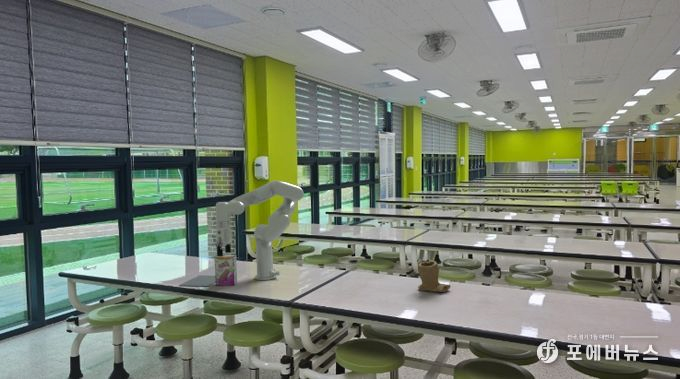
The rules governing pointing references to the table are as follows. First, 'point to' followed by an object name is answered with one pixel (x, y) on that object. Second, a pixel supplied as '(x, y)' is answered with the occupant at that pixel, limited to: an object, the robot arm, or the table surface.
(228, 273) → the candy bar box
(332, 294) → the table surface
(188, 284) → the charcoal mat
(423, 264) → the tan boot
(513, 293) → the table surface
